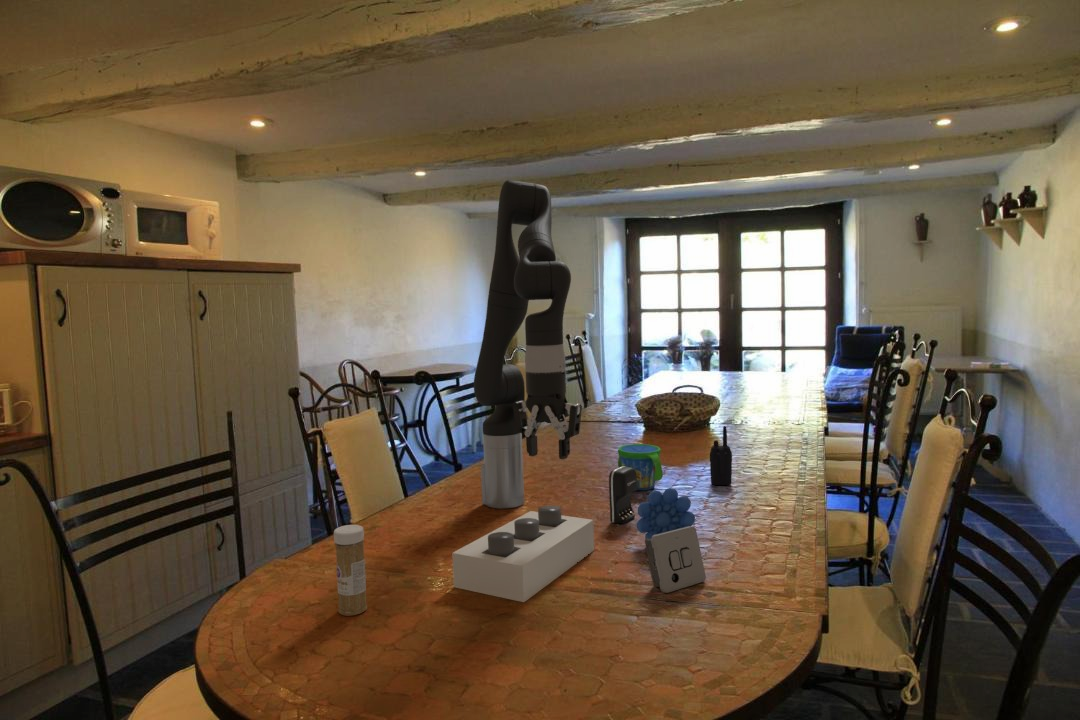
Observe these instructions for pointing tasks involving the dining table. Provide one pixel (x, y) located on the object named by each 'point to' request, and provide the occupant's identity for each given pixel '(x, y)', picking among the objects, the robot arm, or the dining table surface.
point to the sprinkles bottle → (350, 569)
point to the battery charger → (622, 493)
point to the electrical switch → (675, 559)
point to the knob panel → (523, 559)
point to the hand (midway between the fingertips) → (548, 456)
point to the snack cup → (642, 463)
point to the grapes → (664, 513)
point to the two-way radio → (721, 462)
